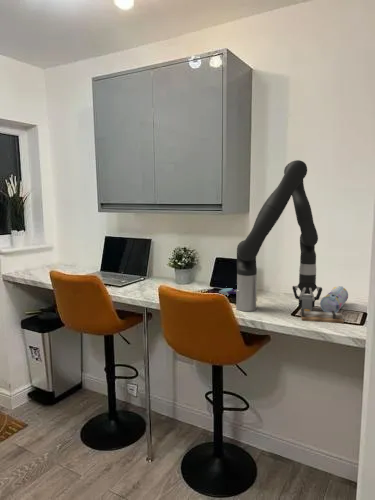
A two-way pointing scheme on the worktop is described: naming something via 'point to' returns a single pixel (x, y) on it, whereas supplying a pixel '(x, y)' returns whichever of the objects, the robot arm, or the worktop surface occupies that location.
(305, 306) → the din module
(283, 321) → the worktop surface
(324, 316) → the rail board
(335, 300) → the pencil case
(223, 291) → the pistol
